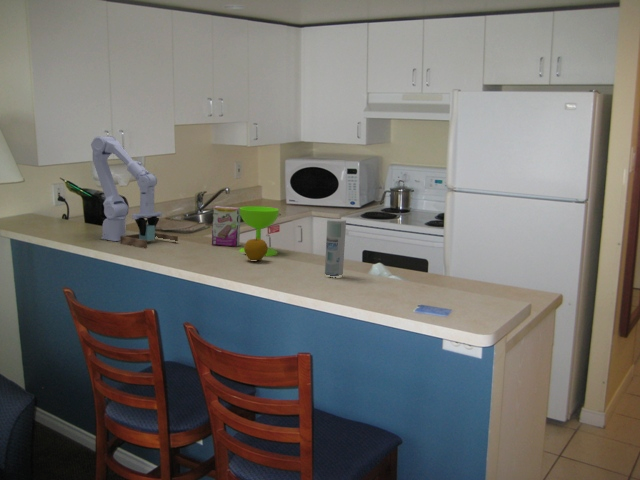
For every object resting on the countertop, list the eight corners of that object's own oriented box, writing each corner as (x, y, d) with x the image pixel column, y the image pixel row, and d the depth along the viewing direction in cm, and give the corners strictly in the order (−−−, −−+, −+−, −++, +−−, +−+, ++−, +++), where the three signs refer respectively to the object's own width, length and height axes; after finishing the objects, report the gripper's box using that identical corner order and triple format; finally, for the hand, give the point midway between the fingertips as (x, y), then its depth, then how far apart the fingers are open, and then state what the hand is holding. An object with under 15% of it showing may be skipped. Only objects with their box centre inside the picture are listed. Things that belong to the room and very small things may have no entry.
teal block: (139, 239, 280) (139, 225, 279) (146, 238, 284) (146, 224, 283) (147, 240, 278) (147, 226, 277) (154, 239, 281) (154, 225, 280)
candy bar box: (211, 245, 282) (212, 207, 280) (214, 243, 287) (215, 205, 285) (237, 247, 281) (238, 208, 279) (239, 245, 286) (241, 207, 284)
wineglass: (231, 253, 266) (232, 209, 263) (247, 247, 281) (248, 205, 278) (269, 257, 261) (270, 212, 258) (282, 251, 276) (284, 208, 273)
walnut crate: (120, 243, 277) (120, 236, 276) (153, 238, 291) (153, 232, 291) (145, 248, 268) (145, 240, 268) (177, 243, 283) (177, 236, 283)
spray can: (346, 276, 233) (349, 220, 230) (337, 279, 228) (340, 221, 225) (330, 273, 237) (333, 218, 234) (321, 276, 231) (323, 219, 228)
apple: (263, 264, 247) (264, 240, 246) (240, 262, 249) (241, 238, 248) (270, 260, 256) (270, 237, 255) (247, 258, 258) (248, 235, 256)
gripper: (140, 204, 270) (140, 237, 272) (166, 202, 282) (166, 234, 284) (128, 203, 274) (128, 235, 276) (155, 201, 286) (155, 232, 288)
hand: (147, 234), depth 280 cm, fingers closed on teal block, 4 cm apart
